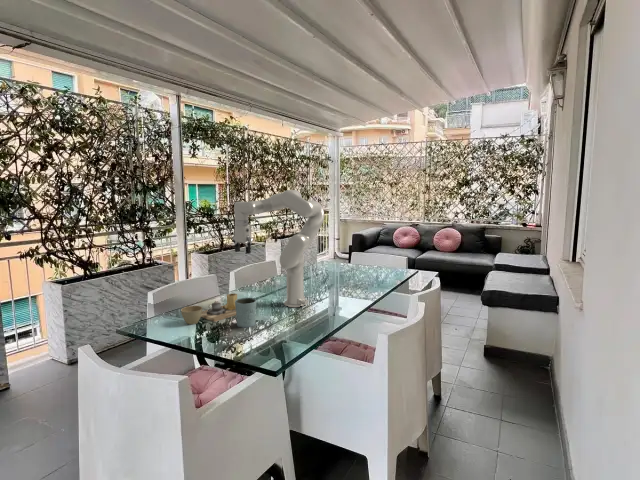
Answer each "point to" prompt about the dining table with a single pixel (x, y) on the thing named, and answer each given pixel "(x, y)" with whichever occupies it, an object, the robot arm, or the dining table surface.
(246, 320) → the grey cup
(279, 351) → the dining table surface
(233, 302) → the brass gear
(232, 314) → the gear board
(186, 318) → the flower pot
